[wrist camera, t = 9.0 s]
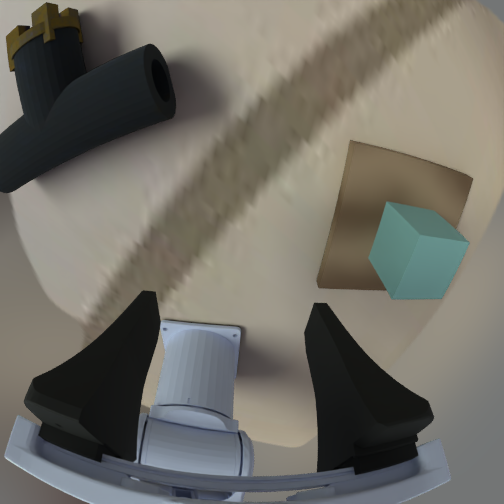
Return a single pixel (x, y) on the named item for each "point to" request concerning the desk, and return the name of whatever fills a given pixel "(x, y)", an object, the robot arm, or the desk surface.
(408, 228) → the teal cube
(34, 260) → the desk surface
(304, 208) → the desk surface
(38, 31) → the pipe connector
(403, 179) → the base plate
